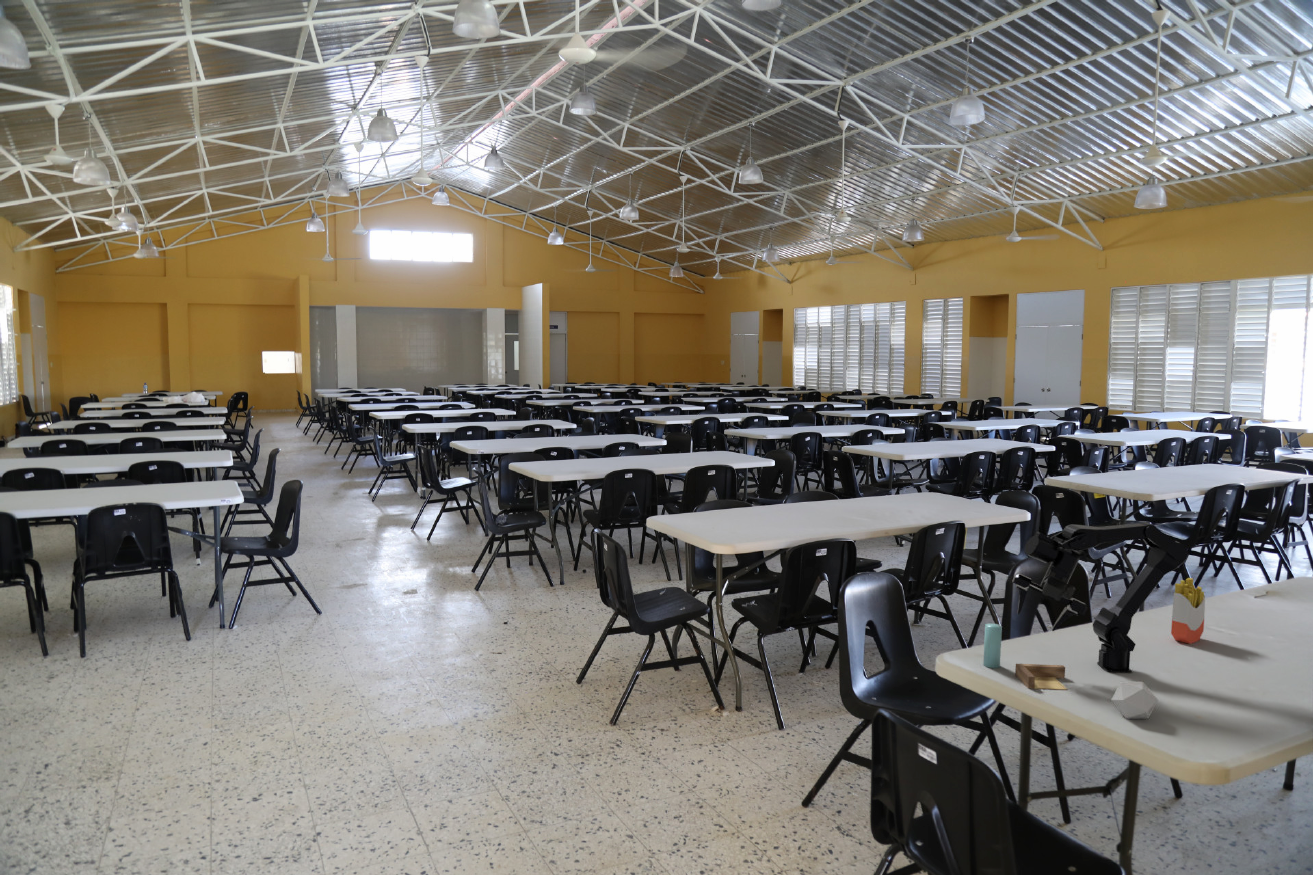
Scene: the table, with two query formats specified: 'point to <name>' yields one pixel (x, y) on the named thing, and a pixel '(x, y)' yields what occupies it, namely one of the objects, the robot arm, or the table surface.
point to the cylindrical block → (992, 645)
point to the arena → (1041, 676)
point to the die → (1134, 700)
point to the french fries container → (1188, 612)
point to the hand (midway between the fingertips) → (1035, 622)
